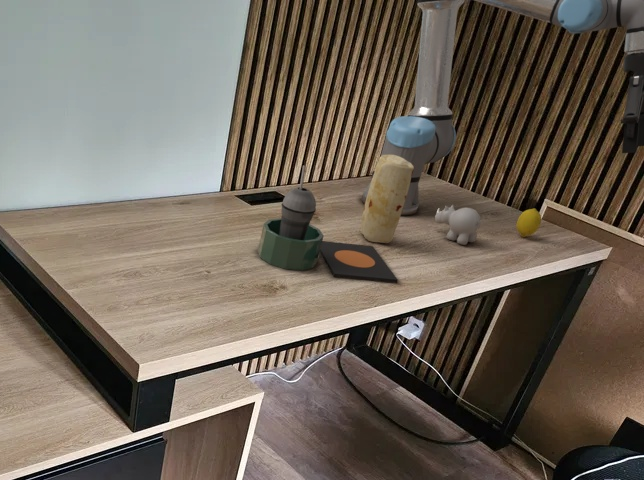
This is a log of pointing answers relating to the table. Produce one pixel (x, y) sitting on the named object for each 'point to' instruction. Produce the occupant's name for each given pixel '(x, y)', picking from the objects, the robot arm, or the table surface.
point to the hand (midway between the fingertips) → (634, 149)
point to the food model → (386, 198)
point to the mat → (355, 262)
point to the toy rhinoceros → (460, 223)
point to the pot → (289, 247)
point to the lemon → (528, 222)
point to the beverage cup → (297, 212)
